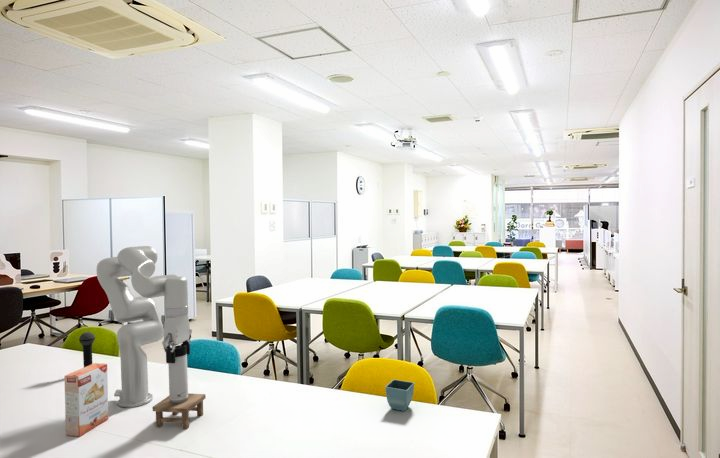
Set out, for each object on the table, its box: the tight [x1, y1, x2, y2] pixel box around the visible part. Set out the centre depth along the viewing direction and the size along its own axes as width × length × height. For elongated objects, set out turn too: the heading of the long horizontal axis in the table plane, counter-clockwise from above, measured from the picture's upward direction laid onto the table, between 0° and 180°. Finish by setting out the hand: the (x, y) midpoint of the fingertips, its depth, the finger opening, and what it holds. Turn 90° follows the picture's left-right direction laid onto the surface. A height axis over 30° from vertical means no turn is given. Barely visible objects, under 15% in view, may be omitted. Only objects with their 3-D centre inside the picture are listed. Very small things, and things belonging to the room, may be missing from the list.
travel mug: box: [167, 344, 189, 404], centre depth 167 cm, size 6×7×20 cm
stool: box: [152, 392, 206, 430], centre depth 167 cm, size 13×13×8 cm
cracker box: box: [64, 362, 109, 437], centre depth 163 cm, size 14×6×21 cm, turn 170°
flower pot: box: [385, 379, 415, 412], centre depth 175 cm, size 9×9×9 cm
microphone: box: [78, 331, 96, 368], centre depth 219 cm, size 7×7×20 cm
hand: (178, 358), depth 167 cm, fingers open, 9 cm apart
